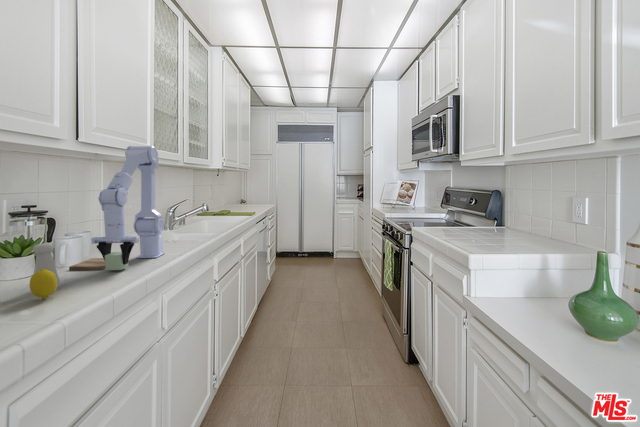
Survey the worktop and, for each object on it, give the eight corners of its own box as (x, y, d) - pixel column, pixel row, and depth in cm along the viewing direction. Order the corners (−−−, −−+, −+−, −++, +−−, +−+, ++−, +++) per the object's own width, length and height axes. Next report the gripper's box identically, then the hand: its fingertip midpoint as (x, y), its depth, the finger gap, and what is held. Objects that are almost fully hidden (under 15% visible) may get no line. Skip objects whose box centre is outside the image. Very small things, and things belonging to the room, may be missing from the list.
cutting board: (91, 261, 128) (91, 258, 128) (121, 260, 129) (121, 257, 129) (69, 270, 115) (69, 266, 115) (102, 269, 116) (102, 266, 116)
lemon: (46, 302, 84) (44, 271, 83) (24, 302, 84) (22, 271, 84) (63, 295, 90) (61, 266, 89) (43, 295, 90) (41, 265, 89)
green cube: (113, 266, 117) (112, 252, 117) (128, 266, 118) (127, 252, 117) (105, 270, 112) (104, 255, 112) (121, 269, 113) (120, 255, 112)
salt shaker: (38, 294, 90) (34, 246, 89) (29, 290, 94) (25, 244, 92) (63, 288, 95) (60, 243, 94) (54, 285, 98) (51, 241, 97)
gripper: (84, 226, 109) (87, 267, 110) (131, 225, 110) (133, 266, 111) (97, 223, 116) (99, 262, 117) (141, 223, 117) (143, 261, 118)
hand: (117, 263), depth 115 cm, fingers closed on green cube, 5 cm apart
